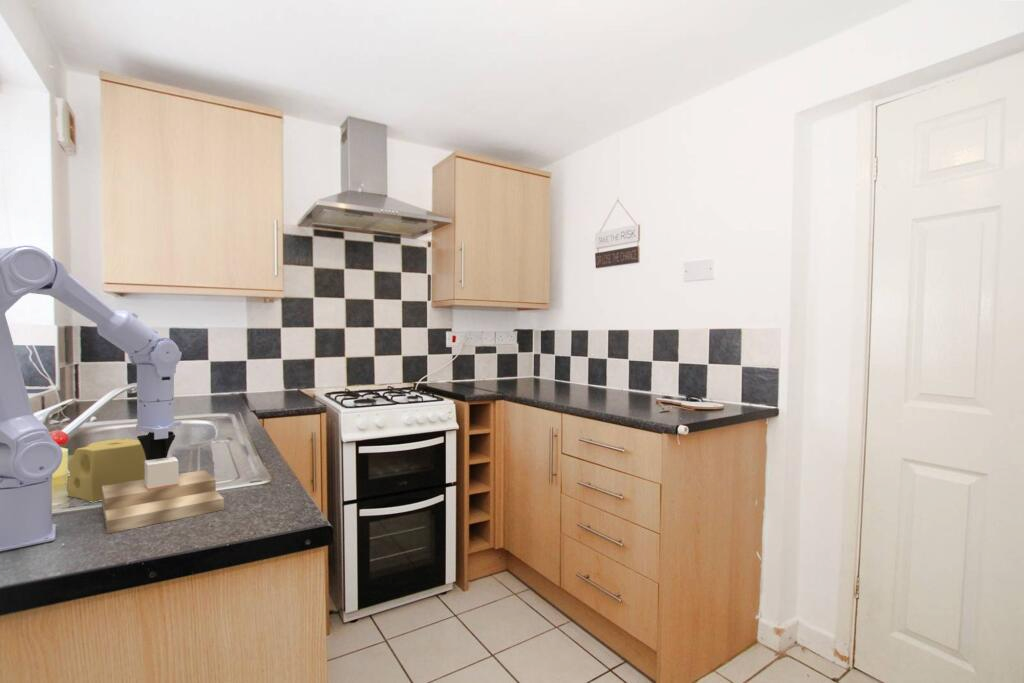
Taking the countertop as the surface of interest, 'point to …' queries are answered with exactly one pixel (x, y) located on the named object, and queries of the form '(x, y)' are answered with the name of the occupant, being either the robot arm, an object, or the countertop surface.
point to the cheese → (104, 467)
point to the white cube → (161, 473)
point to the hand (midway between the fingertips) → (156, 471)
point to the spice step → (159, 501)
